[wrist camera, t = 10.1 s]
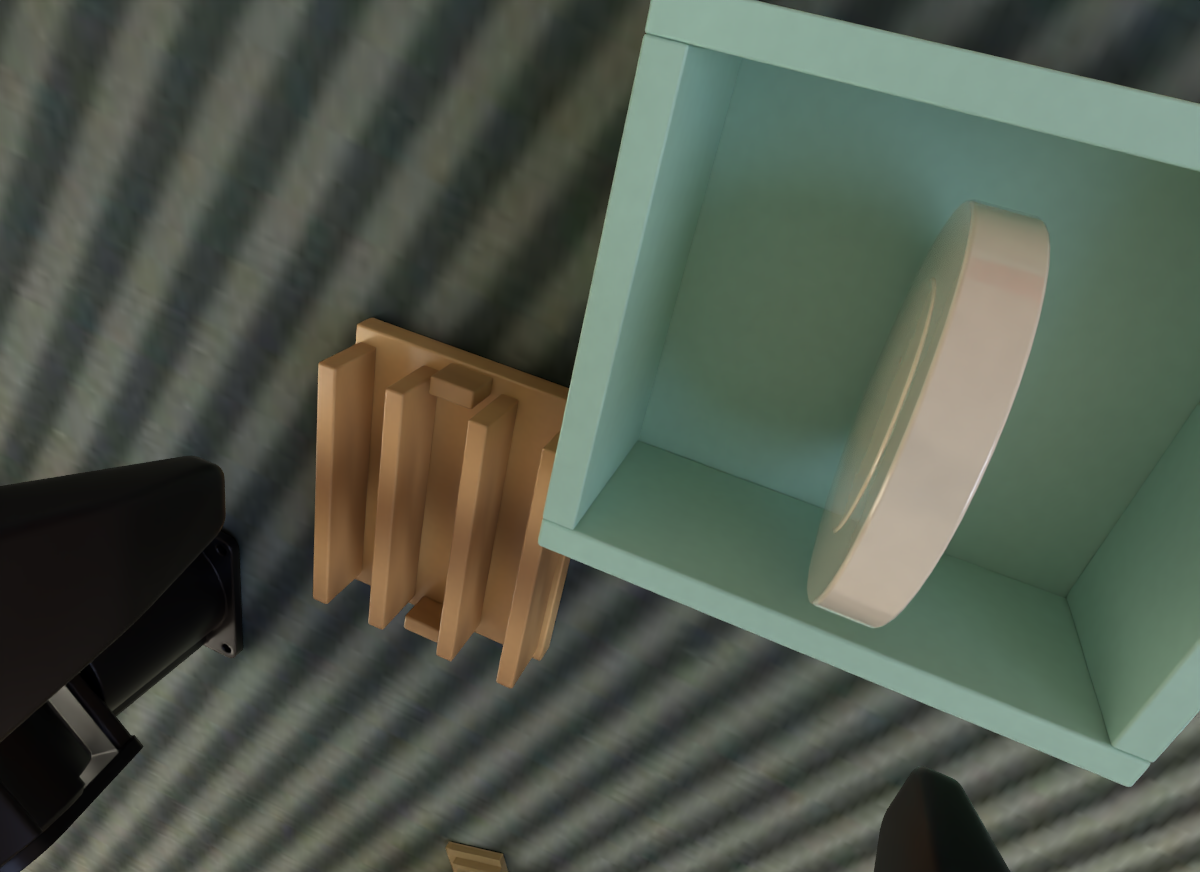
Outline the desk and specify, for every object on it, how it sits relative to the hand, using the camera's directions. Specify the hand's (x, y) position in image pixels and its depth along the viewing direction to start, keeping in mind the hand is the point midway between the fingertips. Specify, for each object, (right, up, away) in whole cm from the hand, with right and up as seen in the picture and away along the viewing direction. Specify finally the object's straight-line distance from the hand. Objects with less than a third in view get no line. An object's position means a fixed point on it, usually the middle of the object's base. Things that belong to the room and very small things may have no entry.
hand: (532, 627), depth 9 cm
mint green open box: (+8, +5, +9) cm, 13 cm away
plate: (+8, +4, +9) cm, 13 cm away
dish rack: (-4, 0, +16) cm, 16 cm away
